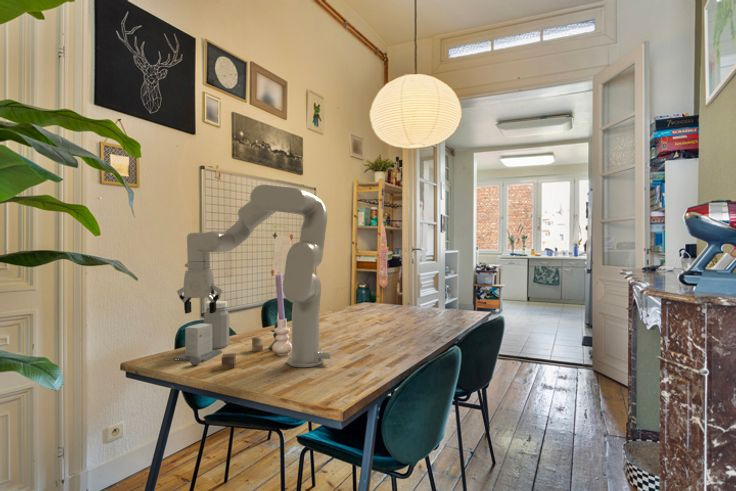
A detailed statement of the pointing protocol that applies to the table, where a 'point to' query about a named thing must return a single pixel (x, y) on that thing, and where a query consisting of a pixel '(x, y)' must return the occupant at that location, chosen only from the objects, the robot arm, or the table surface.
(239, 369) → the table surface
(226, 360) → the walnut block
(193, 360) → the grey rubber ball
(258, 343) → the cork cylinder
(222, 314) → the jar
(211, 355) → the slate trivet
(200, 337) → the small box
